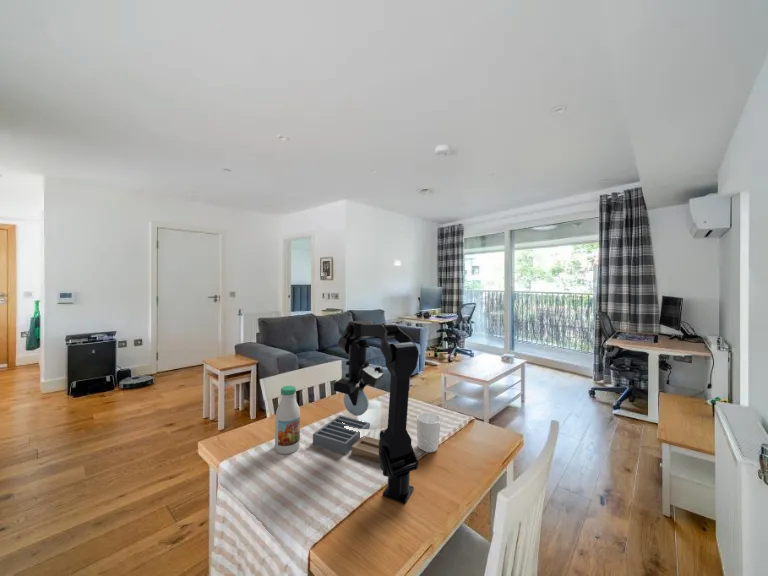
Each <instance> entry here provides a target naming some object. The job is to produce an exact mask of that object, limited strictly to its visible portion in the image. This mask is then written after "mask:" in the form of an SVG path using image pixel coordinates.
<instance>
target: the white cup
mask: <svg viewBox="0 0 768 576" xmlns="http://www.w3.org/2000/svg"><path fill="white" fill-rule="evenodd" d="M441 419H442V418H441V417H440V415H438V414H436V413H432V412H422V413H419V414H418V415H417V416H416V439H417V448H418V447H419V448H420V449H422V450H425V451H426V452H425V453H435V452H436V451H438V450H439V449H438V448H439V441H440V434H441V433H440V432H441V423H442V420H441ZM419 448H418V449H419ZM420 449H419V450H420Z"/></svg>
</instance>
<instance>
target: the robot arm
mask: <svg viewBox="0 0 768 576" xmlns="http://www.w3.org/2000/svg"><path fill="white" fill-rule="evenodd" d="M345 326H346V327H345V329H344V331H343V333H342V334H341V337H340V338H339V339H338V341H337V347H338V349H339V350H340V351H342V352H344V353H345V354H347V355H348V360H347V361H345V365H346V366H348V367H347V368H348V371H347V373H345V378H347V379H345V378H341V379H339V380H336V381H335V382H334V383H333V386H332V387H333V388H332V389H333V391H334V392H337V393H340V394H344V395H345V394H348V395H349V398H350V400H351V402H352V404H353V405H354V406H356V404H357V398H358V391H359V390H360V389H361V390H363V391H364V389H365V387H367V386H368V385H369V386H370V387H376V386H377V385H379V384H380V381H381V379H382V378H383V377H384V373H383V371H384V370H383V367H381V365H378V366H377V367H375V368H374V367H372V366H370V362H369V361H368V360H367V350H368V349H369V348H370V344H369V343H368V342H367V340H366V339H368V338H370V337H371V338H372V337H373V338H374V337H376V338H377V337H378V338H380V340H381V341H380V351H381V352H382V353H381V354H383V357H384V359H385V367H386V368H387V369H386V370H387V371H388V372H389V374H390V386H389V398H388V399H389V400H388V401H389V402H388V418H387V427H386V428H385V429H383V430H382V429H381V430H380V431H379V440H380V441H379V445H380V447H379V458H380V463H379V464H380V466H379V467H380V469H381V471H382V476H383V477H387V486H386V488H385V489H384V490H383V492H382V496H383V497H385V498H388V499H392V500H393V501H396V502H399V503H402V504H406V503H407V501H408V500H409V498H410V496H411V495H412V493H413V491H414V489H415V488H414V486H413V485H410V481H411V479H410V478H411V477H410V476H411V472H412V471H417V470H418V468H419V461H418V459H417V458H418V457H417V456H416V454H415V451H414V448H413V446H412V445H413V444H412V438H411V436H410V434H409V432H408V431H407V422H408V410H409V409H408V407H409V397H410V396H409V395H410V394H409V393H410V379H411V376H412V375H413V373H414V371H416V369H417V368H418V367H417V366H418V363H419V362H418V359H419V349H418V348H419V347H417V345H416V343H415V342H414V340H413V338H412V337H411V336H410V335H408V334H407V333H406V332H405V331H403V330H402V329H401V328H400V327H399V324H397V323H395V322H386V323H385V322H382V323H372V321H370V320H352V321H348V323H347V325H345ZM387 338H389V339H390V338H394V340H396V341H397V342H396V343H393V342H392V343H390V344H389V342H388V339H387Z"/></svg>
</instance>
